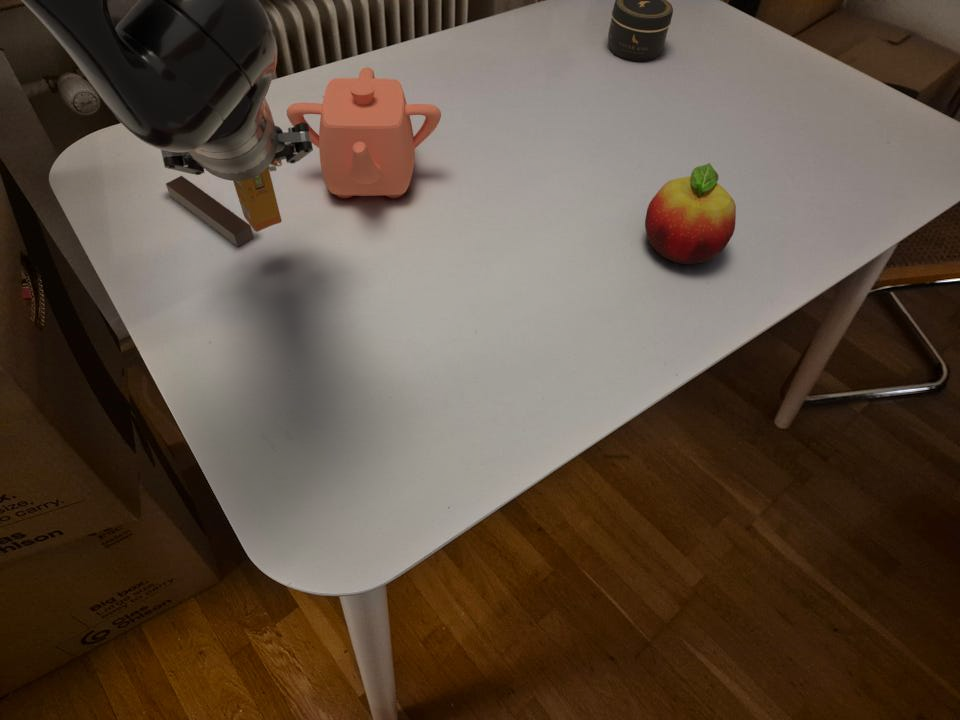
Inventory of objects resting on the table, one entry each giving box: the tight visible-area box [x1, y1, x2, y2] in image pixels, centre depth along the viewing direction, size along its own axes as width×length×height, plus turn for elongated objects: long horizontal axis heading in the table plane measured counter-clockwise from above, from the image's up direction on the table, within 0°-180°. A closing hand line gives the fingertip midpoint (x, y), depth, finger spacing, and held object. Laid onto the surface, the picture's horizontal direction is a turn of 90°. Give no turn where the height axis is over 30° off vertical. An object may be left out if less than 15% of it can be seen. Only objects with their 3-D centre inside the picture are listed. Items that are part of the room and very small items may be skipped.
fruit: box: [644, 162, 737, 265], centre depth 82 cm, size 11×11×10 cm
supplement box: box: [232, 167, 282, 233], centre depth 71 cm, size 3×3×10 cm
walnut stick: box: [165, 175, 255, 248], centre depth 83 cm, size 2×14×2 cm, turn 50°
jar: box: [607, 0, 674, 62], centre depth 114 cm, size 10×10×8 cm
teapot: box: [286, 67, 442, 199], centre depth 85 cm, size 17×16×13 cm
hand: (248, 163), depth 71 cm, fingers closed on supplement box, 4 cm apart
